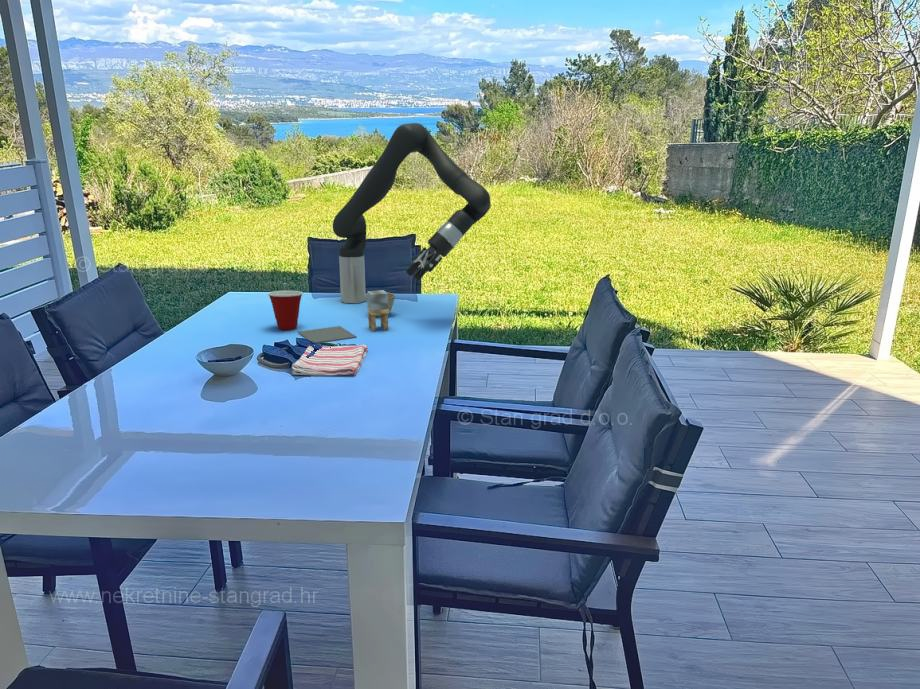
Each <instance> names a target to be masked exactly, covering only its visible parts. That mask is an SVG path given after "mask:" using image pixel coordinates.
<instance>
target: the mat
mask: <svg viewBox="0 0 920 689" xmlns="http://www.w3.org/2000/svg"><path fill="white" fill-rule="evenodd" d="M297 333H298V334H299V335H300V336H301V337H302V338H303V339H305V340H306V341H308V340H309V341H313V342H315V343H316V344H321V343H322V344H323V343H329V342H335V341H342V340H350V339H351V340H352V339H355V338H357V335H356V334H353V333H352V332H350V331H349V330H347V329H345V328H344V327H342V326H341V325H338V326H337V325H336V326H330V327H323V328H314V329H307V330H300V331H297ZM309 341H308V342H309Z"/></svg>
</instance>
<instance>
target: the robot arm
mask: <svg viewBox="0 0 920 689" xmlns="http://www.w3.org/2000/svg"><path fill="white" fill-rule="evenodd" d="M411 153H418V154H421V156H424V157H425V159H427V160H428V161H429V162H430V163H431V165H432V166H433V168H434V171H435V172H436V174H437V176H438V177H439V179H440V180H441V182H443V184H444V185H446V186H447V188H448V189H449V190H451V191H452V192H453V193H454V194H455V195H457V196H460V197H462V198H463V199H464V200H465V201H466V202H467V203H466V204H465V206H463V208H461V209H458V210H456V211H455V212H454V213H453V214H452V215H451V216H450V217H449V218H448V219H447V220H446V221H445V222H444V223H443V224H442V225H441V226H440V227H439V228H438V229H437V230H436V232H434V234H433V235H432V236H431V237H430V238H429V239H428V241H427V243H428V245H429V247H428V248H426V247H425V246H423V247H422V249H421V250H420V251H419V252H418V253H417V254H416V255H415V256H414V257H413V258H412V263H411V264H410V266H409V267H408V268H407V269H406V270H405V272H406V274H407V275H408V276H409V277H410V276H412V275H413V278H414V279H415V280H416V281H420V280H421V279H422V278H423V276H425V274H426V273H431V272H433V271H434V269H435V268H436V267H437V266H438V265H439V263H441V261H442V260H443V258H446V257H447V255H448V254H449V253H450V252H451V251H452V250H453V249H454V248H455V247H456V245H457V244H458V243H459V242H460V241H461V239H462V238H463V236H465V235H466V233H467V232H468V231H469V230H470V229H471V228H472V226H474V225H475V224H477V223H478V222H479V221H480V220H481V219H482V218H483V217H484V216H486V214H487V213H488V212H489V210H490V208H491V206H492V205H491V203H492V202H491V195H490V193H489V192H488V190H487V189H486V188H485V187H484V186H482V185H481V183H479V182H478V181H476V180H474V179H472V178H471V177H470V176H469V175H468V174H467V173H466V172H465V171H464V170H463V169H462V168H461V167H460V166H459V165H457V164H456V163H455V161H454V160H452V159H451V157H449V156H448V154H447V153H446V152H445V150H443V149H442V147H441V146H440V144H438V142H437V141H436V139H435V138H434V137H433V136H432V134H431V133H430V131H428V130H427V128H426V127H425V125H423V124H421V123H420V122H419V123H418V122H411V123H403V124H401V125H399V126H397V128H396V129H395V130H394V131H393V133H392V135H391V137H390V139H389V141H388V143H387V144H386V146H385V148H384V150H383V151H382V153H381V155H380V156H379V158H378V159H377V160H376V162H375V163H374V164H373V166H372V167H371V169H370V170H369V171H368V172H367V174H366V176H365V177H364V179H363V180H362V182H361V183H360V185H359V186H358V187H357V189H356V191H355V192H354V193H353V194H352V196H351V198H350V199H349V200H348V202H346V204H345V205H344V206H343V207H342V208H341V209H340V210H339V212H337V214H336V215H335V217H334V218H333V221H332V231H333V234H334V235H336V237H338V238H342V239H346V241H345V243H343V245H341V247H339V249H338V259H339V260H338V262H339V278H340V279H339V280H340V281H339V284H340V285H339V286H340V302H341V303H345V304H359V303H364V302H367V301H366V274H365V272H366V271H365V270H366V266H365V250H366V247H367V222H366V218H365V216H364V214H365V213H366V212H368V211H370V209H371V208H374V206H376V205H378V204H379V203H380V202H382V201H383V199H384V198H385V197H386V196H387V194H388V193H389V192H390V191H391V189H392V187H394V183H395V181H396V177H397V173H398V172H397V171H398V170H399V167H400V165H401V164H402V162H404V160H405V159H406V158H407V157H408V156H409V155H410V154H411ZM414 273H415V274H414Z"/></svg>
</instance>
